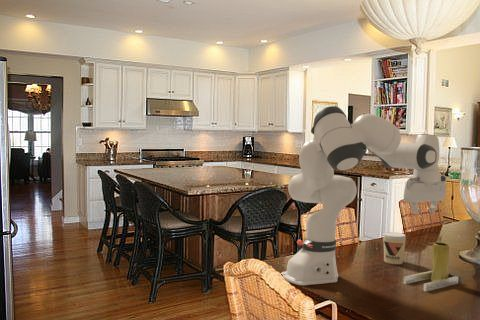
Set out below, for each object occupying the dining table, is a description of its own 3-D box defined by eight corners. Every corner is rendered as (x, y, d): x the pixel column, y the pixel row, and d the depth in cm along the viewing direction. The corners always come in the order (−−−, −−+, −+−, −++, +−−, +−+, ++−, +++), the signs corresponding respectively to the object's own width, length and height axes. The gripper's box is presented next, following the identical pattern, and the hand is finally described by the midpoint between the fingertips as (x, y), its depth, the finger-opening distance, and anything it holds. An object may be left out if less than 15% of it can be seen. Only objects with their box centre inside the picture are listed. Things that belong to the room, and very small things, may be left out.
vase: (433, 277, 165) (435, 241, 164) (450, 281, 161) (452, 243, 160) (428, 281, 160) (430, 244, 159) (446, 285, 156) (448, 246, 155)
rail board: (425, 291, 150) (426, 284, 149) (403, 283, 158) (403, 276, 158) (460, 283, 159) (460, 276, 159) (437, 275, 167) (438, 269, 167)
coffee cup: (380, 262, 184) (381, 235, 183) (384, 257, 192) (385, 230, 191) (403, 266, 179) (404, 237, 179) (406, 260, 188) (407, 233, 187)
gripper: (414, 178, 155) (412, 216, 156) (449, 177, 165) (448, 212, 166) (400, 177, 161) (398, 213, 161) (435, 175, 171) (433, 210, 171)
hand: (424, 213), depth 164 cm, fingers open, 8 cm apart
